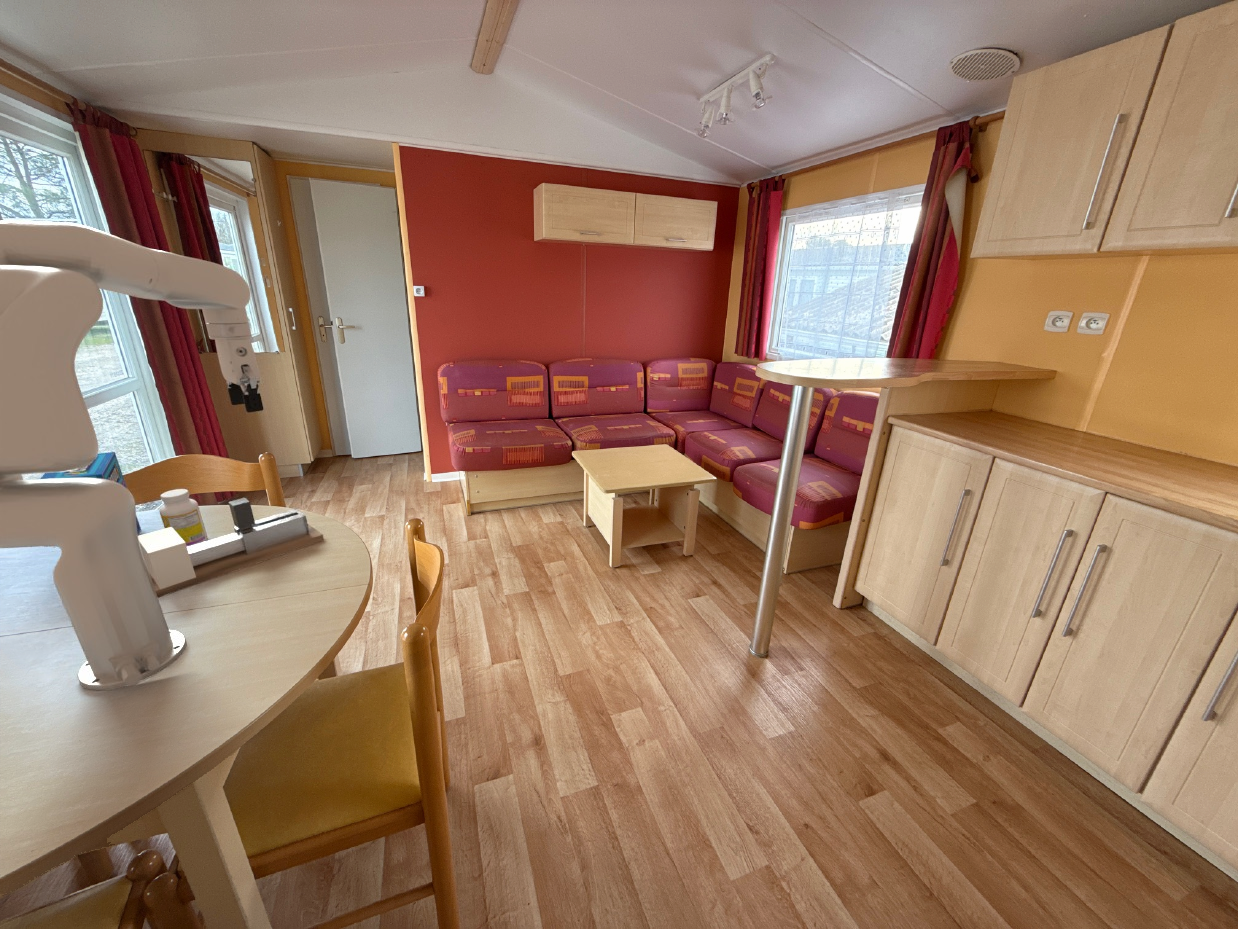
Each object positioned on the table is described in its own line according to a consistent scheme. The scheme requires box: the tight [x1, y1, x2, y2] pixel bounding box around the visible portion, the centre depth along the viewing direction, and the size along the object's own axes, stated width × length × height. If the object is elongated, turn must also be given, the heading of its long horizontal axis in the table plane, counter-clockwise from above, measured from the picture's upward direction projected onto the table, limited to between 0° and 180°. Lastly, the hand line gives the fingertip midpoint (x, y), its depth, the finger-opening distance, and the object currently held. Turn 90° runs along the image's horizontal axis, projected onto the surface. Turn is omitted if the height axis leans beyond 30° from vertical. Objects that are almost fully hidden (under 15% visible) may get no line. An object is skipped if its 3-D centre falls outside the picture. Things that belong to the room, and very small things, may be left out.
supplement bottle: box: [158, 488, 208, 547], centre depth 112 cm, size 7×7×13 cm
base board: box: [149, 523, 325, 598], centre depth 108 cm, size 10×30×2 cm, turn 142°
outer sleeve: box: [233, 508, 310, 555], centre depth 112 cm, size 6×12×5 cm, turn 142°
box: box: [40, 451, 142, 536], centre depth 107 cm, size 17×9×20 cm, turn 37°
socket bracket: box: [138, 527, 196, 589], centre depth 98 cm, size 10×6×8 cm, turn 52°
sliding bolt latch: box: [187, 497, 256, 566], centre depth 104 cm, size 4×17×10 cm, turn 142°
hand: (247, 407), depth 113 cm, fingers open, 9 cm apart
